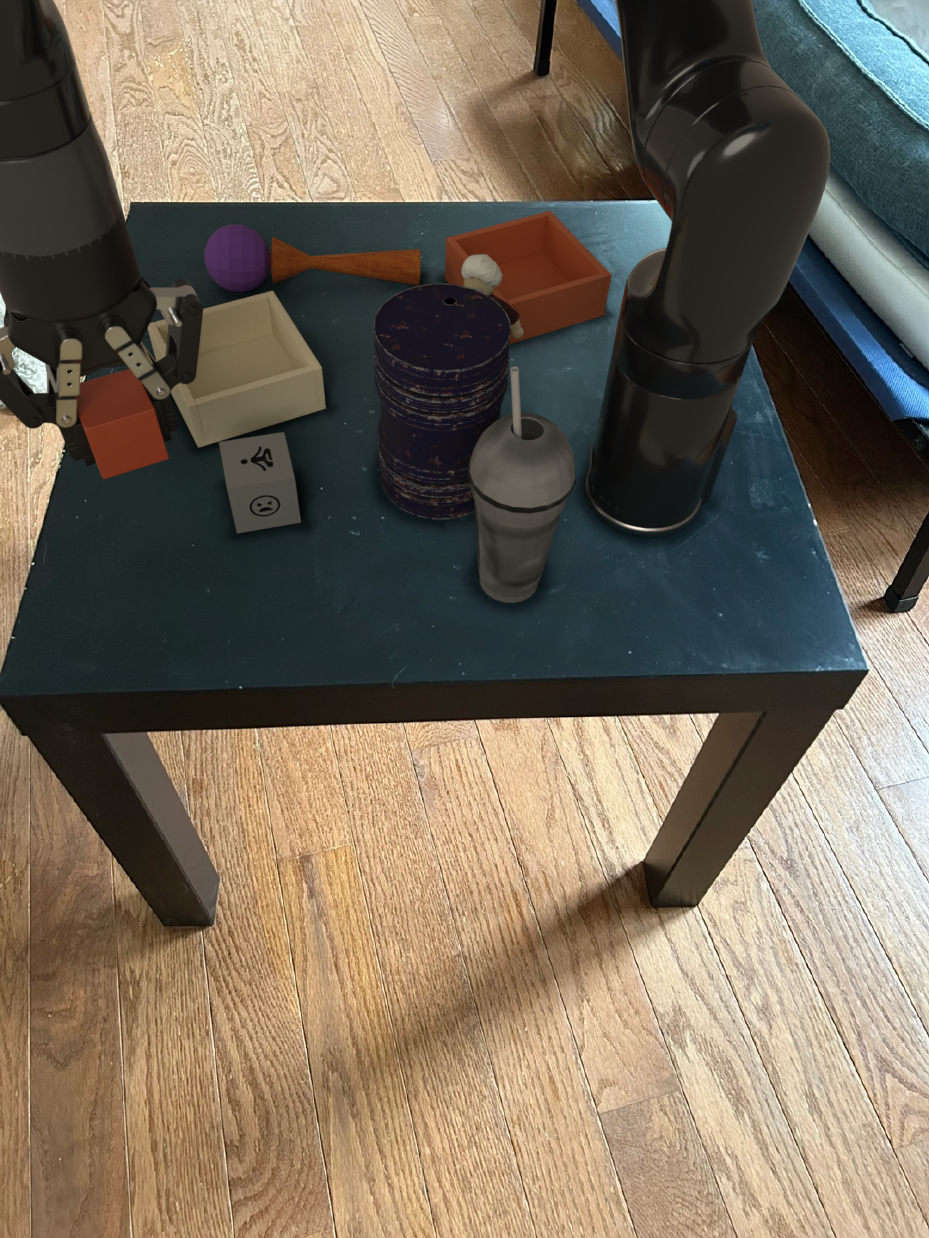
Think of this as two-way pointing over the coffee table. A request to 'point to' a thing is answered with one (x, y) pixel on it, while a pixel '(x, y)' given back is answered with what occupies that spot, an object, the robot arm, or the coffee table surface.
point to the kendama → (295, 261)
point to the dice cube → (260, 482)
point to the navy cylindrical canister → (437, 392)
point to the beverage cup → (518, 498)
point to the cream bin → (245, 370)
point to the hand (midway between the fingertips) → (126, 444)
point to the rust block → (120, 423)
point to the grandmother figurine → (489, 285)
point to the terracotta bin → (536, 271)
